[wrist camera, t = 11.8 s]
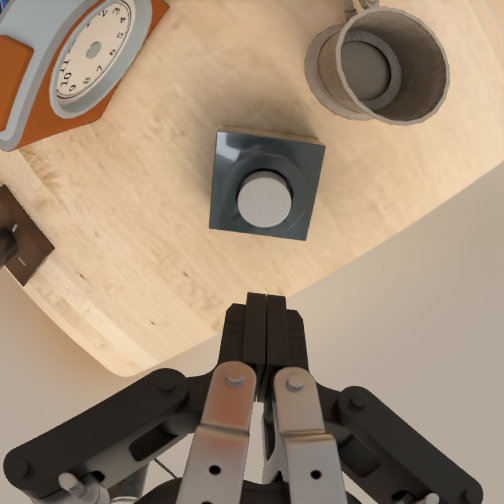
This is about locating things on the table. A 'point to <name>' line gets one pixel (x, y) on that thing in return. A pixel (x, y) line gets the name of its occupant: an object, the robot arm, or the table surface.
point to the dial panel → (22, 238)
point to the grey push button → (264, 199)
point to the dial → (6, 246)
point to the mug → (400, 59)
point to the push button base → (264, 159)
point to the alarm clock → (65, 61)
